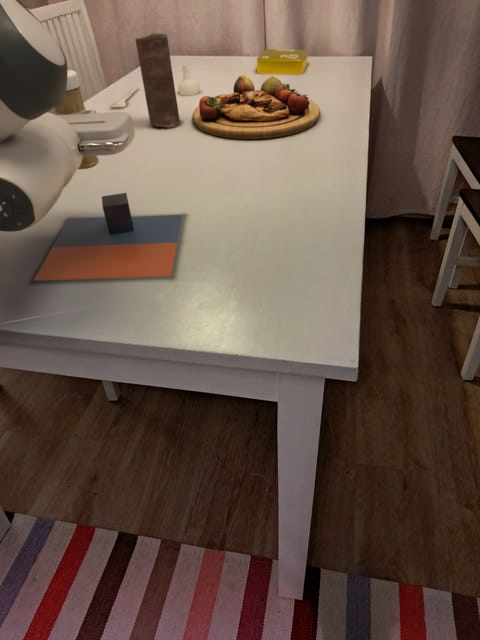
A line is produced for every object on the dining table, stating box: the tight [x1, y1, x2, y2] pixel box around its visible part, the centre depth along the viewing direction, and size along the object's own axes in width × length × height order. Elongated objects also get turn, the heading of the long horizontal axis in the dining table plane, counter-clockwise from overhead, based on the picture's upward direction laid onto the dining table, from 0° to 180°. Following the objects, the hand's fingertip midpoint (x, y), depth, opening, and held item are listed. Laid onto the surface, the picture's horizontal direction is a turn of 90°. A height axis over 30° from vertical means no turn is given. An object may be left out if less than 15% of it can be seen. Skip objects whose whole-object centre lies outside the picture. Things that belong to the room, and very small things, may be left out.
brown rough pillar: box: [135, 32, 181, 128], centre depth 110 cm, size 8×7×20 cm
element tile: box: [256, 48, 308, 75], centre depth 153 cm, size 15×15×5 cm
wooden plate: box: [192, 74, 321, 140], centre depth 115 cm, size 32×32×8 cm
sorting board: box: [33, 214, 183, 282], centre depth 74 cm, size 20×18×1 cm
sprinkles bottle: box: [54, 69, 100, 170], centre depth 70 cm, size 5×5×13 cm
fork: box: [109, 87, 138, 108], centre depth 134 cm, size 3×20×2 cm, turn 173°
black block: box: [101, 192, 134, 235], centre depth 76 cm, size 4×4×5 cm
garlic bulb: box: [177, 63, 201, 97], centre depth 135 cm, size 6×6×8 cm
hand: (74, 116), depth 71 cm, fingers closed on sprinkles bottle, 4 cm apart
